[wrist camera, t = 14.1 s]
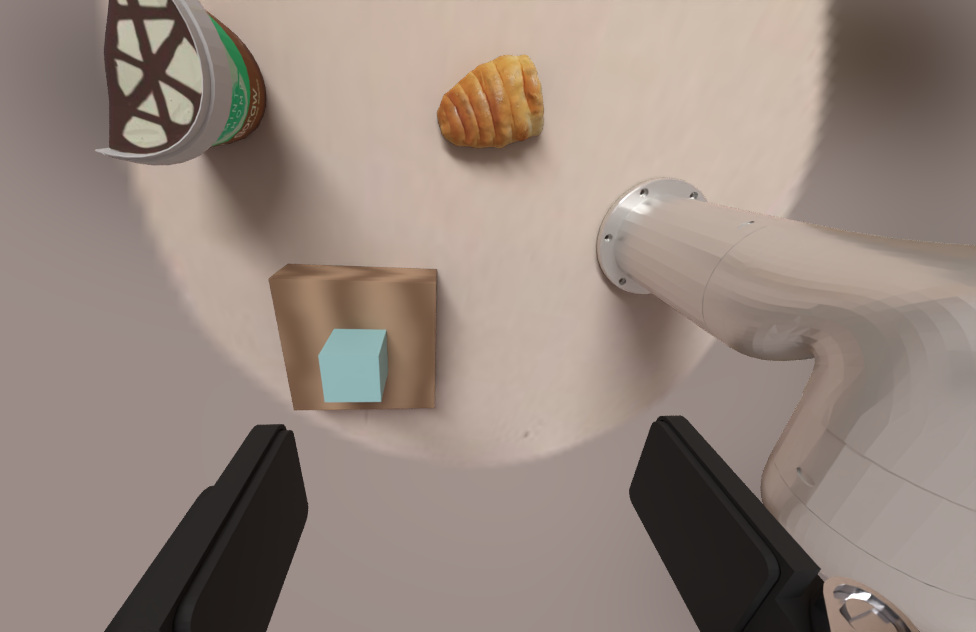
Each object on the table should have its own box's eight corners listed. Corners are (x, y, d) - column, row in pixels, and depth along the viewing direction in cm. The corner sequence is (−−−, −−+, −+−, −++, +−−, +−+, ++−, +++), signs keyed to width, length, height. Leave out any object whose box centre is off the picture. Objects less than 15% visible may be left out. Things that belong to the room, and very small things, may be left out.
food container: (269, 183, 33) (204, 197, 24) (193, 156, 31) (94, 159, 22) (293, 31, 29) (224, -22, 20) (206, -10, 27) (89, -88, 18)
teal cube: (386, 329, 36) (378, 356, 31) (388, 371, 38) (381, 401, 33) (334, 328, 35) (318, 355, 31) (338, 371, 37) (324, 402, 33)
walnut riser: (436, 269, 38) (436, 283, 34) (435, 384, 45) (434, 407, 41) (287, 264, 36) (268, 278, 32) (308, 385, 43) (294, 410, 39)
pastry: (451, 164, 34) (452, 166, 31) (425, 85, 31) (423, 77, 28) (544, 132, 34) (556, 130, 31) (527, 49, 31) (537, 37, 28)
